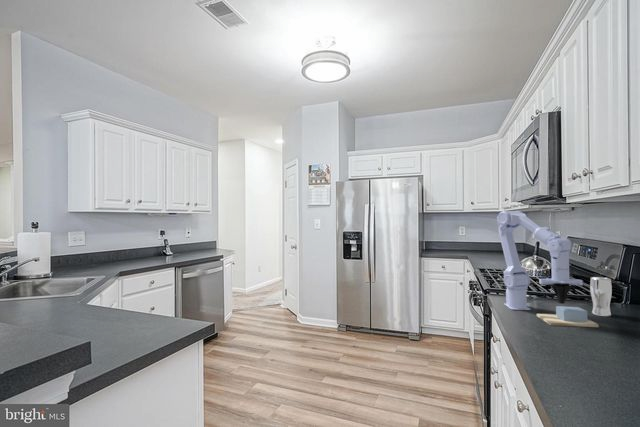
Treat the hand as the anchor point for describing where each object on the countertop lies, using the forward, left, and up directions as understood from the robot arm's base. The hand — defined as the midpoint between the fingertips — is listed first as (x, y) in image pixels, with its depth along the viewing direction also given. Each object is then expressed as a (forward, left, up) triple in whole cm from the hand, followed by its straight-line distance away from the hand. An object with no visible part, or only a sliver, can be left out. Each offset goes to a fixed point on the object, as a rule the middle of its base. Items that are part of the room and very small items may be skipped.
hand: (561, 302), depth 132 cm
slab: (0, 0, -4) cm, 4 cm away
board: (0, +1, -7) cm, 7 cm away
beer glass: (-12, +20, -7) cm, 25 cm away
